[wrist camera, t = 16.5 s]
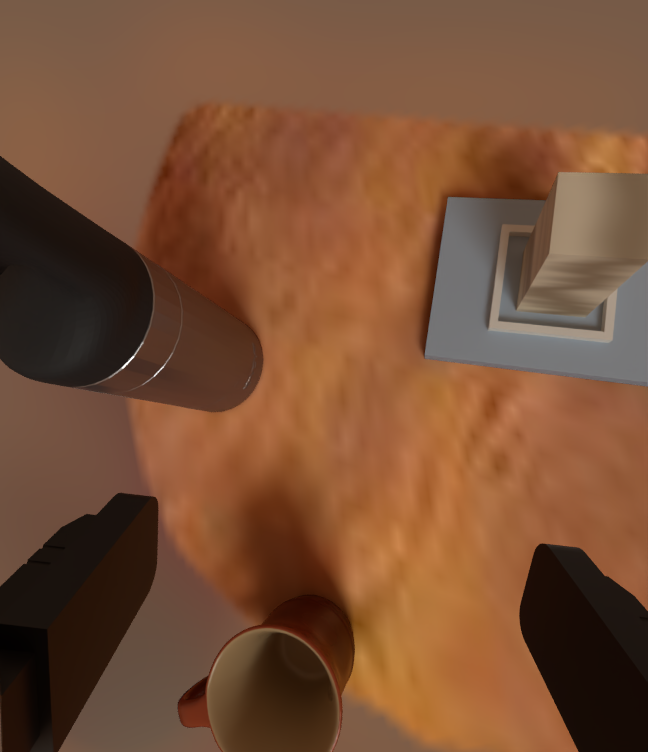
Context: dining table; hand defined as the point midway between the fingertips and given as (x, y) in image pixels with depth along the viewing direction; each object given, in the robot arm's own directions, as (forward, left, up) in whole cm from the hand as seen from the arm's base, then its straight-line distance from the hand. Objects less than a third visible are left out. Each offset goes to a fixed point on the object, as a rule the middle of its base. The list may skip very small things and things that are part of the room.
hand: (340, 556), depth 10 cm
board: (+9, +17, -29) cm, 35 cm away
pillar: (+9, +17, -28) cm, 34 cm away
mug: (-7, -15, -29) cm, 34 cm away
